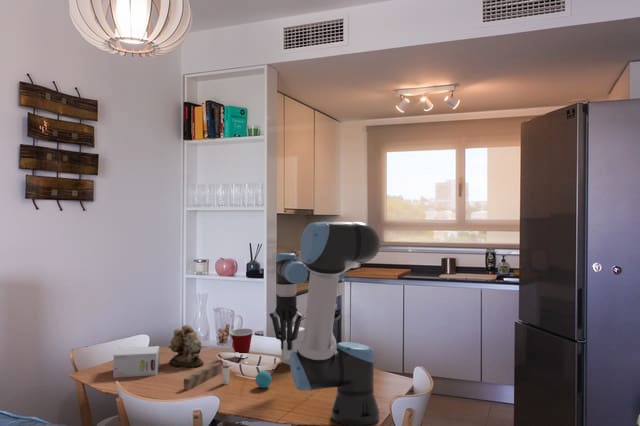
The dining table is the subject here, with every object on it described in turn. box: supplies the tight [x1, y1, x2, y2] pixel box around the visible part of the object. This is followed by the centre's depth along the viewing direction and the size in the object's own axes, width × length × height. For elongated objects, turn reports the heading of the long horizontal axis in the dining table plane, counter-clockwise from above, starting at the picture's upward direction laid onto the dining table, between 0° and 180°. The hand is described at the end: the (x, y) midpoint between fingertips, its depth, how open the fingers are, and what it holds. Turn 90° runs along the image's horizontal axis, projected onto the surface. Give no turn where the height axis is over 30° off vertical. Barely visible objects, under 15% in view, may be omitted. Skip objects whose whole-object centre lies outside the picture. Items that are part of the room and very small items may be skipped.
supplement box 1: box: [112, 345, 160, 379], centre depth 226 cm, size 17×13×9 cm
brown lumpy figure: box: [168, 324, 205, 369], centre depth 238 cm, size 18×12×17 cm, turn 60°
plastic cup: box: [229, 328, 254, 354], centre depth 249 cm, size 11×11×12 cm
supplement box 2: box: [281, 326, 305, 366], centre depth 238 cm, size 9×9×15 cm
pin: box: [222, 360, 230, 385], centre depth 209 cm, size 2×2×8 cm
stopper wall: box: [183, 362, 222, 391], centre depth 213 cm, size 24×2×4 cm, turn 160°
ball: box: [255, 370, 273, 389], centre depth 204 cm, size 6×6×6 cm
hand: (286, 358), depth 201 cm, fingers closed
